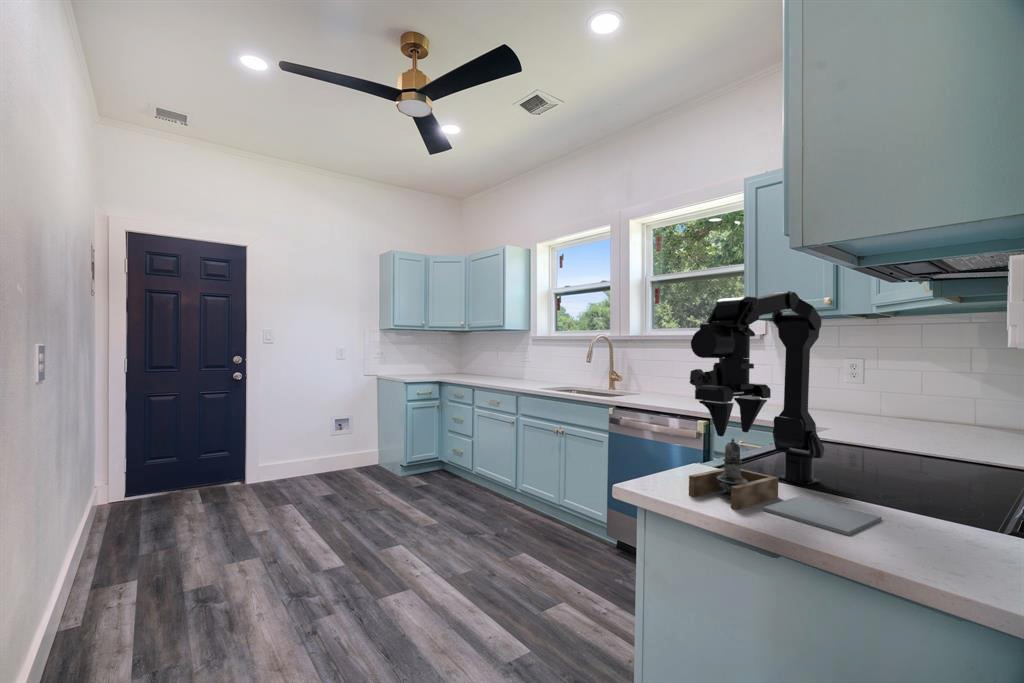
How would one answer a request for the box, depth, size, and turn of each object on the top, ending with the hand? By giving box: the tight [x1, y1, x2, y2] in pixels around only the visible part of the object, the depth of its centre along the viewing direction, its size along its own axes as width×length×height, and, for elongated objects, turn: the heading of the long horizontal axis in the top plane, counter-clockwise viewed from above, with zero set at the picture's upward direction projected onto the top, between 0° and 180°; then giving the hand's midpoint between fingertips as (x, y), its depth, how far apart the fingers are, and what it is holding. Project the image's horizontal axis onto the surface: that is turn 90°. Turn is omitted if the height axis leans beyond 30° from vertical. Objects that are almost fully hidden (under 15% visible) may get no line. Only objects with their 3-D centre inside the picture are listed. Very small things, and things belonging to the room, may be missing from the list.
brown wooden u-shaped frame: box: [688, 467, 779, 511], centre depth 98 cm, size 15×10×4 cm
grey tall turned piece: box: [717, 437, 748, 501], centre depth 98 cm, size 6×6×12 cm
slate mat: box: [762, 495, 883, 536], centre depth 88 cm, size 14×14×1 cm
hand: (733, 434), depth 98 cm, fingers open, 9 cm apart
